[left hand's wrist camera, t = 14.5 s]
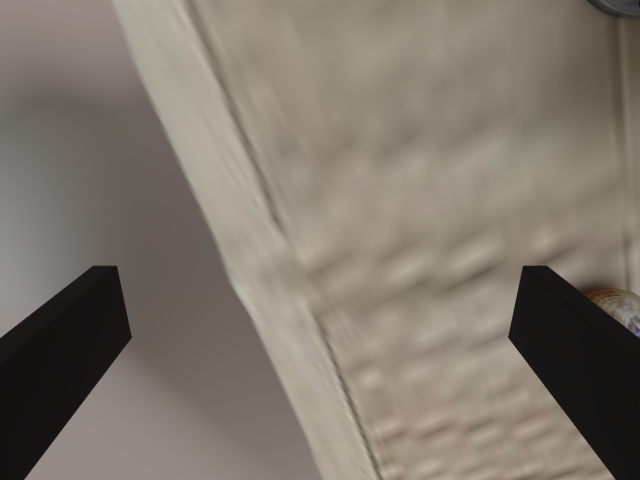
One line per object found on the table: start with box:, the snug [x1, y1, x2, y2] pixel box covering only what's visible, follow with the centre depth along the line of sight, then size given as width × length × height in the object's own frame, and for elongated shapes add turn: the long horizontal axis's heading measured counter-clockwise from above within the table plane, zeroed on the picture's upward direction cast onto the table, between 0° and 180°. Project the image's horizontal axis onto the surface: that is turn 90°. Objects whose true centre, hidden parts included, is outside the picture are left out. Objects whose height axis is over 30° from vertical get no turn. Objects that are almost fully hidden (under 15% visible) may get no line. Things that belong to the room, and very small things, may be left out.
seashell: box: [584, 289, 640, 338], centre depth 47 cm, size 10×6×8 cm, turn 115°
